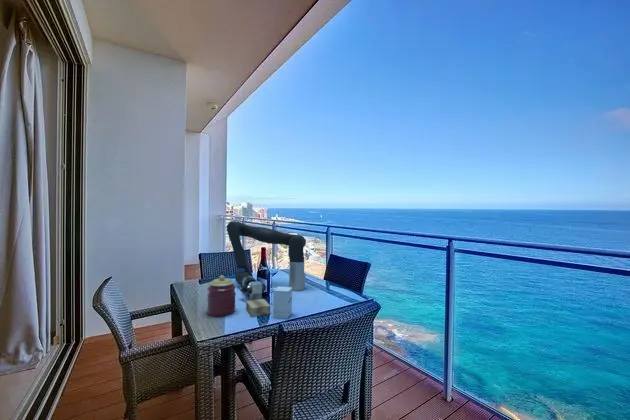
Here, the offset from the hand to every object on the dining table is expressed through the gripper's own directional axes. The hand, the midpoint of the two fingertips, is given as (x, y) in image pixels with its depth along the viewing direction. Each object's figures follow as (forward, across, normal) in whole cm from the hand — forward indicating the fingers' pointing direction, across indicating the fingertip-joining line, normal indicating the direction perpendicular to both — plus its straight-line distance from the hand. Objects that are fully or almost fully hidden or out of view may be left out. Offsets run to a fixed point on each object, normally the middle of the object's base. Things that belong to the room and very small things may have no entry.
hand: (256, 291), depth 155 cm
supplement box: (+22, +7, +6) cm, 24 cm away
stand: (+13, -2, +6) cm, 14 cm away
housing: (-2, 0, +6) cm, 7 cm away
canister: (+6, -19, +6) cm, 21 cm away
